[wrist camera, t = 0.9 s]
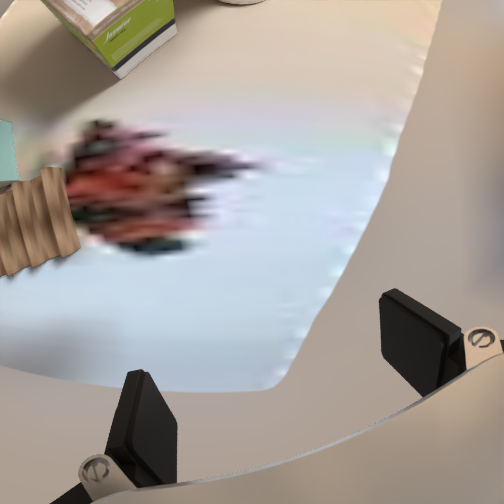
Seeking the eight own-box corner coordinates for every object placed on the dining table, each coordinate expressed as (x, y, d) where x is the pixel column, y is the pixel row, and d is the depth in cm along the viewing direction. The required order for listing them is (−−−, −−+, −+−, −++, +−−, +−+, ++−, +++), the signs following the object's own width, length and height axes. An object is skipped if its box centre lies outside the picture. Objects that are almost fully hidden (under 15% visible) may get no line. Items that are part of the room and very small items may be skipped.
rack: (-17, 206, 30) (-34, 209, 26) (61, 168, 32) (45, 167, 27) (1, 274, 33) (-14, 283, 28) (80, 247, 34) (67, 255, 30)
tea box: (66, 31, 26) (23, -16, 12) (119, -12, 26) (96, -71, 12) (121, 83, 31) (82, 35, 16) (180, 35, 30) (174, -31, 16)
